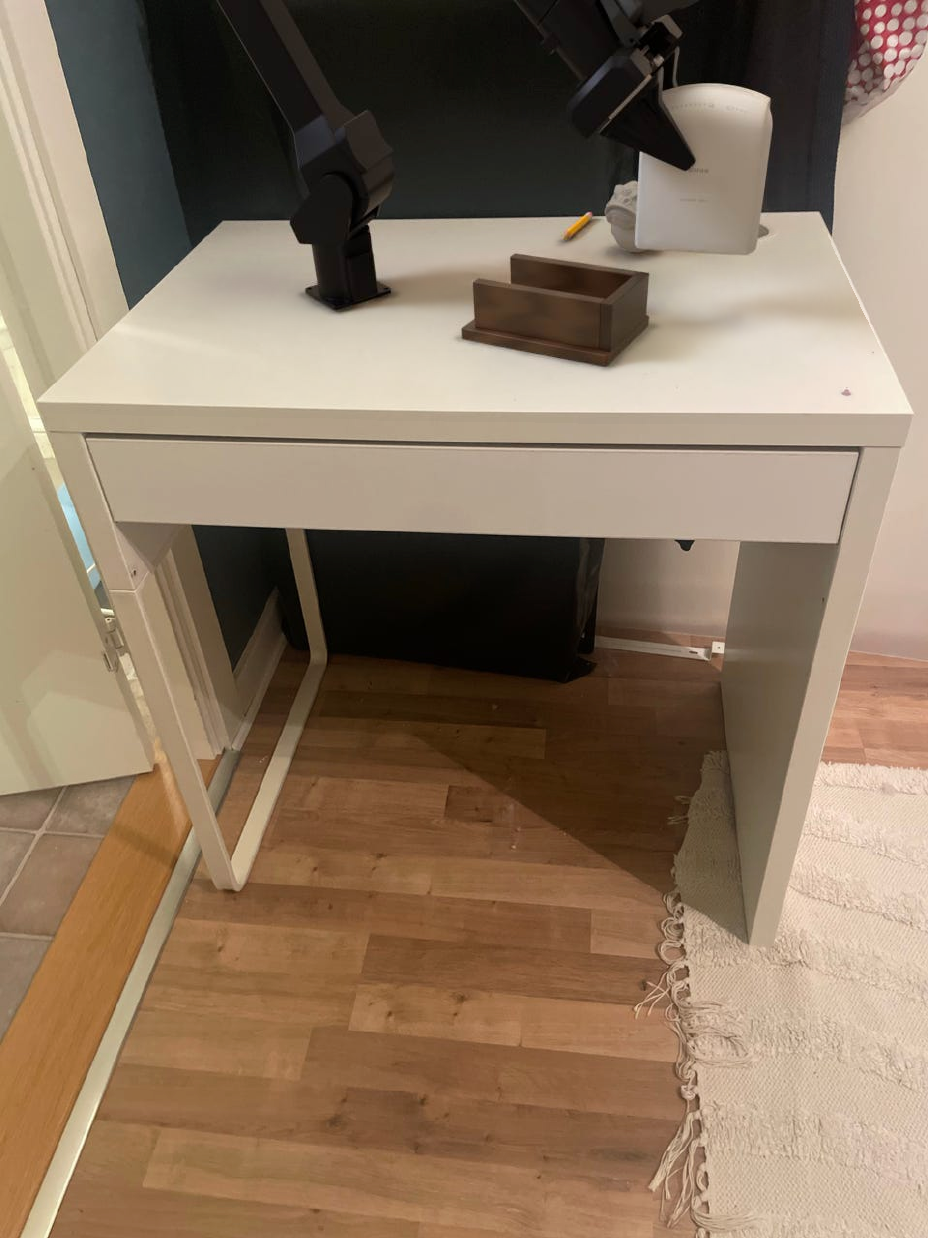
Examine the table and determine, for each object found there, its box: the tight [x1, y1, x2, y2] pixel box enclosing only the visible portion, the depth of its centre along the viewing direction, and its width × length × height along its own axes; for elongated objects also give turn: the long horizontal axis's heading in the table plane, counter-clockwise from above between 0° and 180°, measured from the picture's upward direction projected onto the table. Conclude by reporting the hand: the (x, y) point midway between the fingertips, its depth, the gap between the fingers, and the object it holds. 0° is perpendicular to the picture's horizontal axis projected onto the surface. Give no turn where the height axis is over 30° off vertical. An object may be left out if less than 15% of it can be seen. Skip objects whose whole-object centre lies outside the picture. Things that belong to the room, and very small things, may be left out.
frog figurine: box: [604, 180, 648, 253], centre depth 96 cm, size 6×7×7 cm
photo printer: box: [635, 82, 774, 256], centre depth 77 cm, size 10×4×12 cm, turn 70°
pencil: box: [561, 211, 594, 241], centre depth 104 cm, size 1×9×1 cm, turn 154°
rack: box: [460, 253, 650, 367], centre depth 83 cm, size 14×9×5 cm, turn 59°
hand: (695, 158), depth 77 cm, fingers closed on photo printer, 4 cm apart
